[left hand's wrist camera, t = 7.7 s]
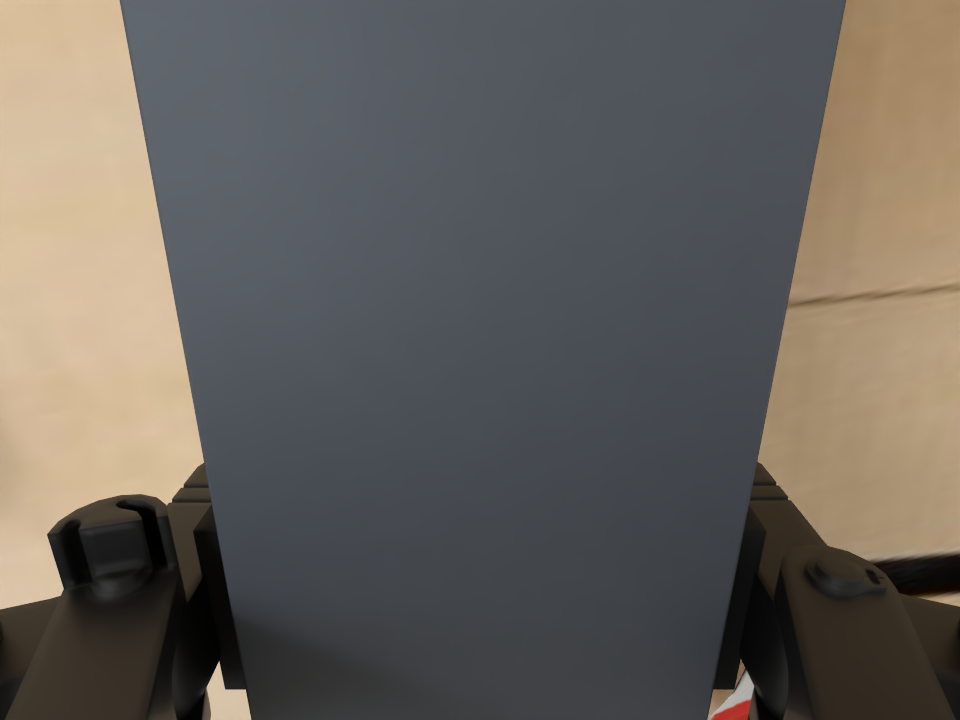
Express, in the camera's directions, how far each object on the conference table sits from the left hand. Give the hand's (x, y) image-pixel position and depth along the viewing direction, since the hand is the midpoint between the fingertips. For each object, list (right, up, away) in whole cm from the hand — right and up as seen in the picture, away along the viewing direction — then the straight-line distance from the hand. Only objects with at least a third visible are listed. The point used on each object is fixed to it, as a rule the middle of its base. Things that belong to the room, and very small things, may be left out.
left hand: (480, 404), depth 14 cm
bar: (0, +9, -3) cm, 9 cm away
